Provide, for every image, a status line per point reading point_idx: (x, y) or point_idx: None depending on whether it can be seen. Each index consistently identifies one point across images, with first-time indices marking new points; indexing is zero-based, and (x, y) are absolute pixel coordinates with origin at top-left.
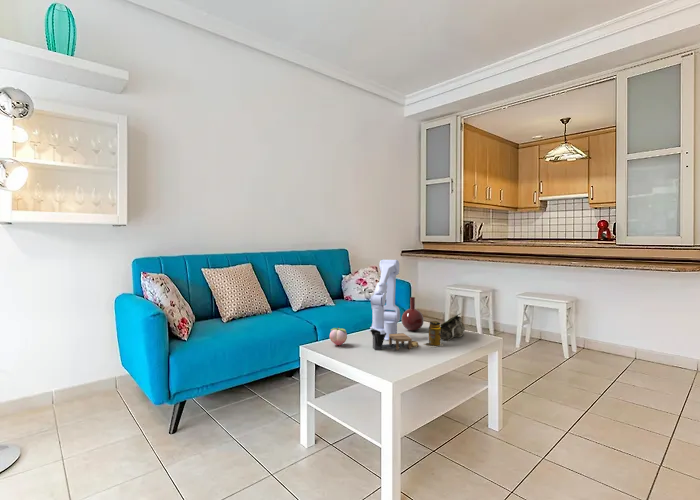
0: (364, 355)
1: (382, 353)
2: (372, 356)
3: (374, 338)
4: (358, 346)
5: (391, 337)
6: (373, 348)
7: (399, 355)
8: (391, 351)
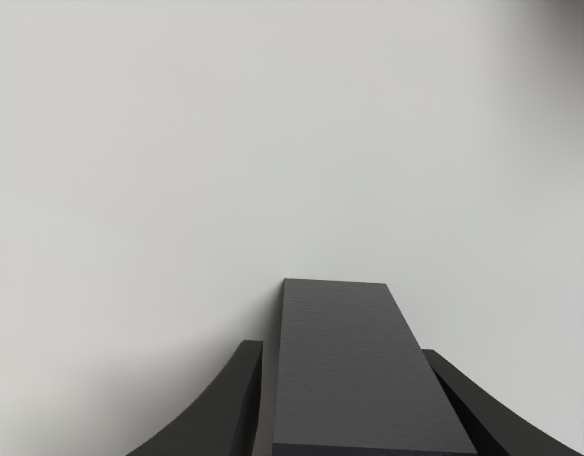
0: (69, 33)
1: (117, 314)
2: (3, 139)
3: (317, 391)
4: (563, 109)
5: None
6: (352, 283)
7: (8, 452)
8: None
